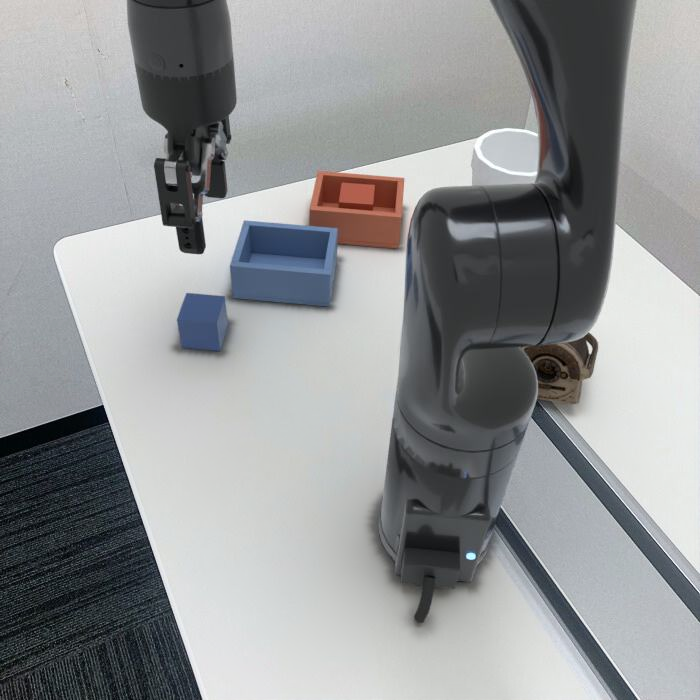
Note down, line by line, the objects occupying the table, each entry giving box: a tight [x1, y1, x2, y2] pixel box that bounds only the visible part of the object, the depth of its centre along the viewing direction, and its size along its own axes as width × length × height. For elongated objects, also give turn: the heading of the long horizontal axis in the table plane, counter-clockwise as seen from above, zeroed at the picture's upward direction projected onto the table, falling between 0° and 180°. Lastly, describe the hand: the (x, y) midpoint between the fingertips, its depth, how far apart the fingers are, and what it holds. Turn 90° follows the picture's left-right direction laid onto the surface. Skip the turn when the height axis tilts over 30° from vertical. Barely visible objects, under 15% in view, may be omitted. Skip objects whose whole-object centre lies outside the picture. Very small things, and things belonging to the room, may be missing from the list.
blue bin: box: [229, 220, 338, 308], centre depth 83 cm, size 8×11×5 cm
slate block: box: [176, 292, 229, 352], centre depth 77 cm, size 4×4×4 cm
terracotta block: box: [339, 183, 375, 211], centre depth 90 cm, size 4×4×4 cm
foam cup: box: [470, 127, 538, 186], centre depth 85 cm, size 10×9×13 cm
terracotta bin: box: [308, 170, 405, 250], centre depth 90 cm, size 8×11×5 cm
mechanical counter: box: [520, 331, 599, 405], centre depth 74 cm, size 7×13×10 cm
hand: (205, 222), depth 69 cm, fingers open, 8 cm apart
